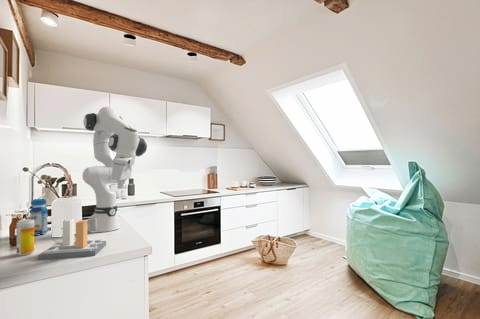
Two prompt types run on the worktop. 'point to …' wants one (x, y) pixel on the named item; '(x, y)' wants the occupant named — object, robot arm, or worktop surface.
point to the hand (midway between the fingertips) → (119, 188)
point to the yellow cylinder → (25, 237)
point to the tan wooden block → (81, 234)
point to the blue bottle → (39, 216)
